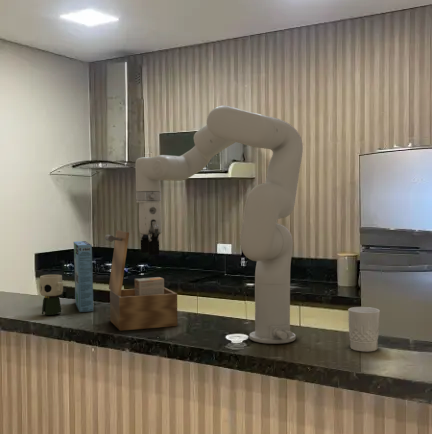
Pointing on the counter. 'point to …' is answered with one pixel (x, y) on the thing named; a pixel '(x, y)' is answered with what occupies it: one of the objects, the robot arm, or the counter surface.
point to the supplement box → (149, 286)
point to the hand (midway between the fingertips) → (149, 253)
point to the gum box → (83, 276)
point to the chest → (143, 310)
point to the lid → (118, 260)
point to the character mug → (51, 293)
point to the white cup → (363, 328)
